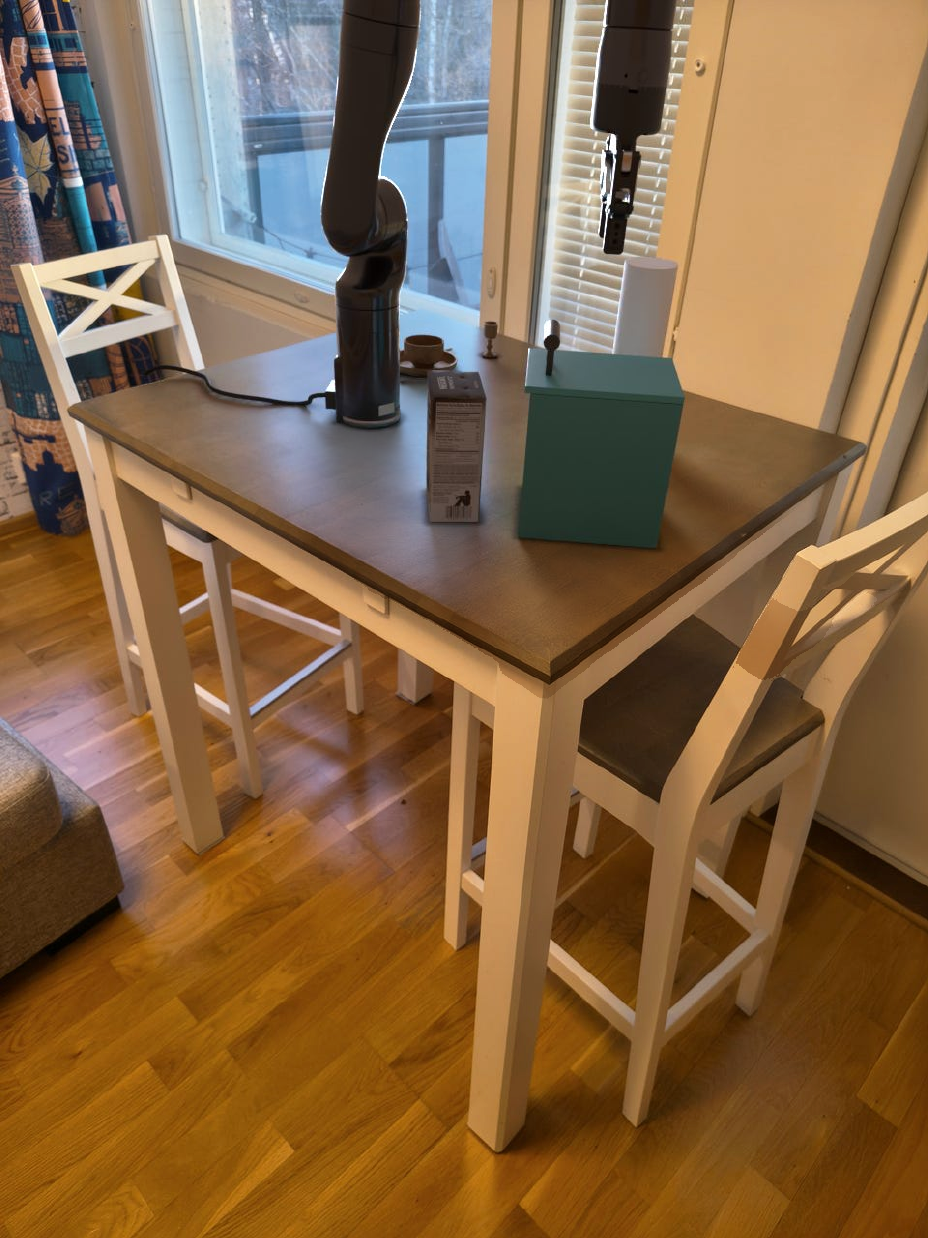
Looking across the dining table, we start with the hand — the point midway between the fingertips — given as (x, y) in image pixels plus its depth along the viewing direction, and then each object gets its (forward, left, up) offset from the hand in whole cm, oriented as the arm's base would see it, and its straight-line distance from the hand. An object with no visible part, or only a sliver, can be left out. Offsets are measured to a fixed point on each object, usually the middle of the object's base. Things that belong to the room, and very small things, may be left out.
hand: (609, 245), depth 102 cm
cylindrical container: (+7, +19, -31) cm, 37 cm away
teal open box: (+1, -9, -30) cm, 32 cm away
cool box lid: (0, -8, -13) cm, 15 cm away
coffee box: (-16, -8, -31) cm, 36 cm away
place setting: (-23, +45, -31) cm, 59 cm away
